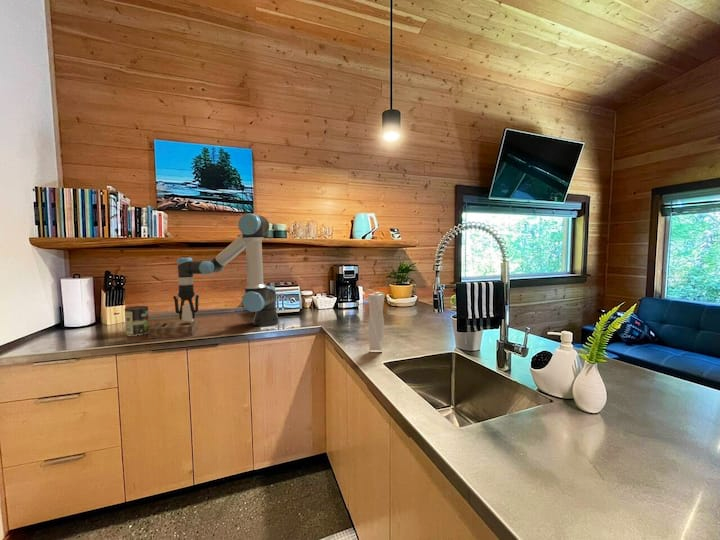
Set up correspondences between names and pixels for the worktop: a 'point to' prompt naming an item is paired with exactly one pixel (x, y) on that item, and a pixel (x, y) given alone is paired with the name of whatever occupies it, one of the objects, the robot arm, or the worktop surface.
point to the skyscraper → (376, 320)
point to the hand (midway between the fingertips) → (187, 324)
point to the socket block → (173, 329)
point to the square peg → (186, 312)
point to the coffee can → (136, 320)
